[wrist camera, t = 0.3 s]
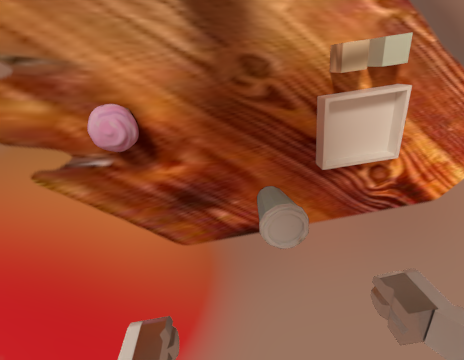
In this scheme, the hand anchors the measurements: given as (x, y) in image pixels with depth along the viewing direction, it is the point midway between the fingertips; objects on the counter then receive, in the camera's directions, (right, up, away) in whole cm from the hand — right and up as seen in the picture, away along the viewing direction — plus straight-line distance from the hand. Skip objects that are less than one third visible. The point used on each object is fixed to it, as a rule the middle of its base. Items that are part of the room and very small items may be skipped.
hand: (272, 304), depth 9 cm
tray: (+27, +18, +46) cm, 56 cm away
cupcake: (-25, +18, +41) cm, 51 cm away
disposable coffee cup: (+8, +1, +53) cm, 53 cm away
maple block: (+21, +30, +39) cm, 54 cm away
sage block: (+29, +32, +39) cm, 58 cm away
